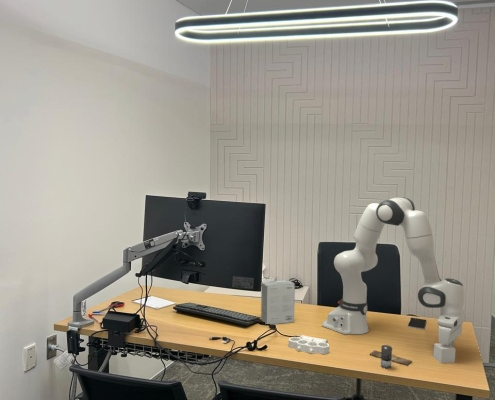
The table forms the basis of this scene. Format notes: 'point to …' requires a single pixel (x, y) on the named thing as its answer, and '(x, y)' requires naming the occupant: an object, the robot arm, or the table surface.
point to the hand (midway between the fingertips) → (450, 349)
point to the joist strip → (394, 358)
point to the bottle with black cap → (386, 356)
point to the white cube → (444, 353)
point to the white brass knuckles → (309, 344)
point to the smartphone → (417, 323)
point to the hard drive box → (277, 302)
